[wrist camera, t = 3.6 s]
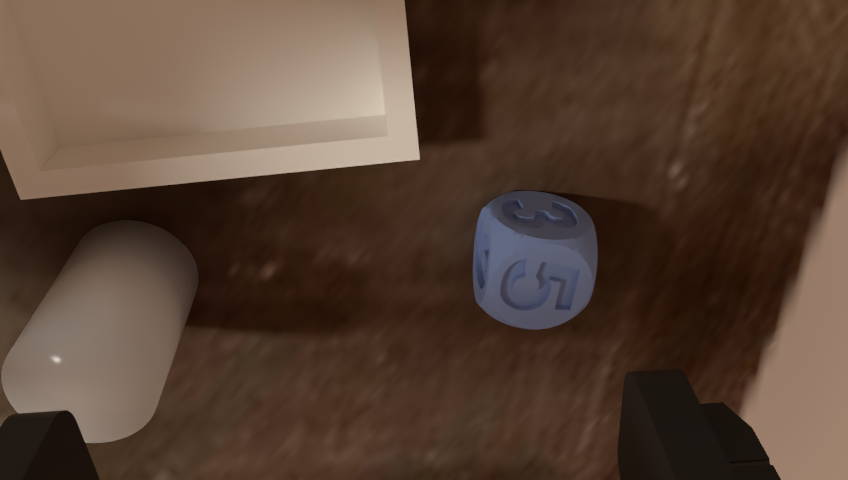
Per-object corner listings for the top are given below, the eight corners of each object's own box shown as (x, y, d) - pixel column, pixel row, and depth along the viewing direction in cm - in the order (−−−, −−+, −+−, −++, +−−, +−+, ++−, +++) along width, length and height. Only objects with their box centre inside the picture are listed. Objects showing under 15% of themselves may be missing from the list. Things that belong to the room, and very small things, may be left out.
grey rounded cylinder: (94, 327, 33) (32, 449, 27) (55, 226, 30) (-23, 337, 24) (211, 315, 33) (174, 435, 27) (182, 213, 30) (134, 321, 24)
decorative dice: (561, 276, 33) (582, 333, 30) (469, 270, 33) (480, 328, 29) (580, 192, 31) (606, 244, 28) (482, 186, 31) (495, 238, 27)
